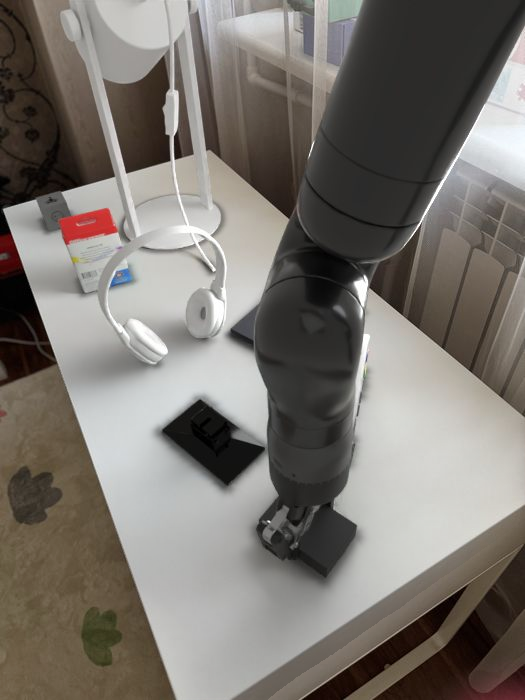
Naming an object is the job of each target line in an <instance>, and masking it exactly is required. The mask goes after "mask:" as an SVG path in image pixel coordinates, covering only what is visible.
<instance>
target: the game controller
mask: <svg viewBox="0 0 525 700" xmlns="http://www.w3.org/2000/svg"><path fill="white" fill-rule="evenodd" d="M370 337H371V336H370V334H366V333H364V337H363V344H362V351H361V357H360V363H359V368H358V373H357V378H356V395H355V406H354V414H353V426H354V433H355V432H356V426H357V417H358V416H359V413H360V407H361V405H360V404H361V401H362V397H363V391H362V390H363V386H364V385H363V384H364V379H365V378H366V373H367V363H368V360H369V354H370V350H369V346H370V339H371V338H370ZM354 438H355V437H354ZM354 438H353V440H354Z"/></svg>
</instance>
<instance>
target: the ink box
mask: <svg viewBox="0 0 525 700" xmlns="http://www.w3.org/2000/svg"><path fill="white" fill-rule="evenodd" d="M58 223H59V225H60V227H61V228H60V232H61V237H62V240H63V242H64V245H65V247H66V250H67V253H68V255H69V257H70V261H71V262H72V265H73V268H74V270H75V272H76V273H75V274H76V275H77V278H78V281H79V284H80V286H81V289H82V291H83V292H84V294H89V293H92V292H96V291H98V283H99V279H100V276H101V274H102V271H103V269H104V267H105V266H106V264H107V263H108V261H109V260H110V259H111V258H112V257H113V255H114V254H115V253H116V252H117V251H118V250H120V249H121V248H122V247H123V244H122V241H121V238H120V235H119V230H118V227H117V225H116V222H115V219H114V217H113V214H112V212H111V208H109V207H103V208H100V209H95V210H92V211H87V212H82V213H78V214H73V215H71V216H70V217H66V218H61V219H59V220H58ZM132 281H133V278H132V275H131V272H130V269H129V265H128V262H127V257H126V258H125V259H124V260H123V261H122V262H121V263H120V264H119V265H118V267H117V268H116V269H115V275H114V277H113V279H112V281H111V284H110V287H115V286H118V285H122V284H125V283H129V282H132ZM110 287H109V288H110Z"/></svg>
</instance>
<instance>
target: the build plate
mask: <svg viewBox="0 0 525 700" xmlns="http://www.w3.org/2000/svg"><path fill="white" fill-rule="evenodd" d="M161 432H162V434H164V435H165V436H166V437H167V438H168V439H170V440H171V441H172V442H173V443H175V444H176V445H177V446H178V447H179V448H180V449H182V450H183V451H184V452H185V453H186V454H188V455H189V456H190V457H191V458H192V459H194V460H195V461H196V462H197V463H199V465H200V466H202V467H203V468H204V469H206V470H207V471H208V472H209V473H210V474H212V476H213V477H215V478H216V479H218V481H220V482H221V483H222V484H223V485H225V486H229V485H231V484H232V483H233V482H234V481H235V480H236V479H237V478H238V477H240V475H241V474H242V473H243V472H244V471H245V470H246V469H248V468H249V466H250V465H251V464H253V463H254V462H255V461H256V460H257V459H258V458H259V457H260V456H261V455H262V454H263V453H264V452H265V451H266V447H265V446H264V445H263V444H261V443H260V442H258V441H257V440H256V439H254V438H253V437H252V436H251V435H249V433H247V432H245V431H244V430H243V429H241V428H240V427H238V426H237V425H236V424H234V423H233V422H232V421H230V420H229V419H228V418H226V417H225V416H223V414H221V413H220V412H219V411H217V410H216V409H214V407H213V406H212V405H211V404H209V403H208V402H207V401H206V400H205V401H204V400H202V399H201V398H200V399H197V400H196V401H195V402H194V403H193V404H191V405H190V406H189V407H188V408H186V409H185V410H184V411H183V412H182V413H180V414H179V415H178V416H177V417H176V418H174V420H172V421H171V422H170V423H168V424H167V425H166V426H164V427H163V428H162V429H161Z"/></svg>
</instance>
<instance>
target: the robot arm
mask: <svg viewBox="0 0 525 700" xmlns="http://www.w3.org/2000/svg"><path fill="white" fill-rule="evenodd" d="M524 29H525V0H362V2H361V5H360V8H359V11H358V14H357V17H356V20H355V22H354V25H353V28H352V31H351V33H350V37H349V40H348V42H347V45H346V48H345V51H344V54H343V56H342V60H341V61H340V65H339V68H338V70H337V74H336V76H335V79H334V82H333V84H332V88H331V90H330V93H329V96H328V99H327V101H326V104H325V108H324V111H323V114H322V116H321V119H320V121H319V125H318V128H317V131H316V134H315V137H314V140H313V143H312V145H311V149H310V152H309V155H308V158H307V160H306V163H305V167H304V170H303V174H302V177H301V180H300V184H299V189H298V194H297V199H296V203H295V206H294V209H293V210H292V213H291V215H290V217H289V219H288V222H287V224H286V227H285V228H284V231H283V234H282V236H281V239H280V240H279V244H278V246H277V249H276V251H275V254H274V256H273V260H272V262H271V265H270V267H269V268H270V269H269V272H268V275H267V279H266V282H265V285H264V287H263V291H262V295H261V298H260V301H259V303H260V304H259V303H258V304H259V307H258V310H257V314H256V318H255V324H254V346H253V352H254V353H253V355H254V359H255V363H256V366H257V369H258V371H259V374H260V377H261V379H262V381H263V384H264V386H265V389H266V400H267V413H268V417H267V423H266V444H267V456H268V467H269V468H268V470H269V472H268V473H269V478H270V481H271V483H272V486H273V488H274V490H275V492H276V493H277V497H278V496H279V497H278V501H277V504H276V510H277V511H276V515H275V516H274V518H273V519H272V521H271V522H270V521H264V520H262V521H261V522H259V521H258V523H257V525H256V527H255V532H256V534H257V536H258V539H259V541H260V544H261V546H262V548H263V549H265V550H266V551H267V552H269V554H271V555H272V556H274V557H275V558H276V559H278V560H279V561H281V562H284V561H285V560H288V561H291V560H294V561H296V560H298V556H299V555H300V539H301V536H302V535H303V534H304V533H305V532H306V531H307V530H309V527H310V525H311V522H312V519H313V516H314V513H315V512H317V511H318V509H319V507H320V505H322V504H325V505H327V506H329V507H330V508H332V509H334V507H335V499H336V498H337V497H338V496H339V495H341V493H342V492H343V491H344V489H345V488H346V486H347V484H348V481H349V476H350V469H351V464H352V460H353V457H354V451H355V449H356V448H355V447H356V443H355V442H354V439H353V438H355V432H354V426H353V414H354V406H355V395H356V378H357V373H358V368H359V363H360V357H361V351H362V344H363V337H364V334H365V328H366V327H365V326H366V317H367V304H368V297H369V289H370V287H371V283H372V281H373V278H374V275H375V273H376V271H377V268H378V266H379V265H380V262H382V261H385V260H387V259H389V258H392V257H394V256H395V255H396V254H398V253H399V252H400V251H401V250H402V249H403V248H405V246H406V245H407V243H408V242H409V241H410V240H411V238H412V237H413V235H414V234H415V232H416V231H417V230H418V229H419V227H420V225H421V223H422V221H423V219H424V218H425V215H426V214H427V212H428V210H429V209H430V207H431V205H432V203H433V202H434V200H435V198H436V197H437V195H438V193H439V191H440V189H441V188H442V187H443V184H444V182H445V180H446V179H447V177H448V175H449V174H450V172H451V170H452V168H453V166H454V165H455V162H456V161H457V160H458V157H459V156H460V154H461V152H462V150H463V148H464V146H465V144H466V142H467V140H468V139H469V137H470V135H471V133H472V131H473V129H474V127H475V126H476V124H477V122H478V120H479V119H480V116H481V114H482V112H483V111H484V108H485V106H486V104H487V103H488V100H489V98H490V96H491V94H492V92H493V90H494V89H495V86H496V84H497V82H498V80H499V78H500V76H501V74H502V72H503V70H504V68H505V66H506V64H507V62H508V60H509V58H510V56H511V54H512V52H513V50H514V49H515V46H516V44H517V43H518V41H519V39H520V37H521V35H522V33H523V32H524ZM300 519H303V521H301V520H300ZM285 526H286V527H287V528H289V529H290V530H291V531H292V532H293V535H292V534H291V533H289V532H288V531H286V530H285Z"/></svg>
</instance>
